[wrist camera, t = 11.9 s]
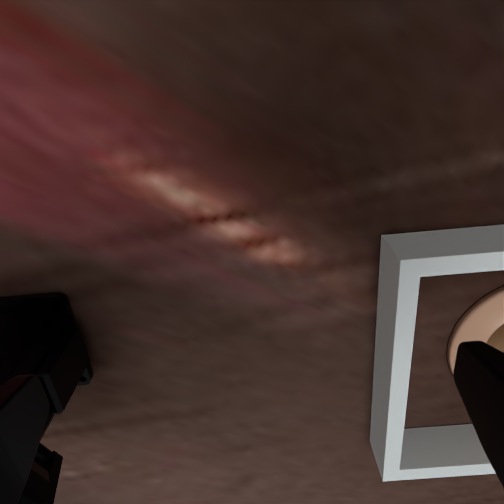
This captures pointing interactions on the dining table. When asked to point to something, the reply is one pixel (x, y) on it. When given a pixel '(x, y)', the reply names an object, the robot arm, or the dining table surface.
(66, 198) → the dining table surface
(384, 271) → the white square frame
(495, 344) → the pepper mill
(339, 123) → the dining table surface
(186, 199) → the dining table surface
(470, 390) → the robot arm
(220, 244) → the dining table surface
